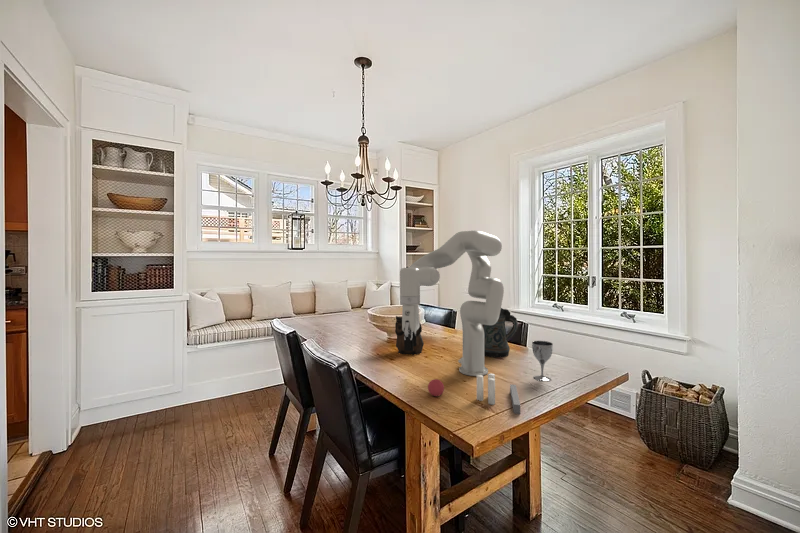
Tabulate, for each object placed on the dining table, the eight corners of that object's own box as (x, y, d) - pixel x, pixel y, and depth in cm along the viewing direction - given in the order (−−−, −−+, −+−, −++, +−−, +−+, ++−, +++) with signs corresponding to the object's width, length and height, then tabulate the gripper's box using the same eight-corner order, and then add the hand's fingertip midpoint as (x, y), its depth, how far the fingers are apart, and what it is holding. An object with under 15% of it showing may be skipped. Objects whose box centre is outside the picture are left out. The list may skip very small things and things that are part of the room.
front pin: (475, 399, 128) (475, 375, 127) (480, 397, 129) (480, 374, 128) (479, 401, 126) (479, 377, 125) (484, 399, 127) (484, 376, 126)
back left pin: (486, 397, 129) (486, 374, 129) (491, 395, 130) (491, 373, 130) (491, 399, 127) (491, 376, 127) (496, 397, 128) (496, 374, 128)
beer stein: (473, 349, 193) (473, 303, 192) (508, 348, 194) (508, 303, 193) (482, 358, 176) (482, 308, 175) (520, 357, 178) (520, 307, 177)
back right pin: (486, 402, 124) (486, 379, 124) (491, 401, 125) (491, 377, 125) (491, 405, 122) (491, 381, 122) (496, 403, 123) (496, 379, 123)
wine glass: (540, 382, 142) (540, 346, 142) (528, 376, 150) (528, 341, 150) (556, 380, 145) (557, 344, 144) (544, 374, 152) (544, 340, 152)
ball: (424, 394, 132) (424, 378, 132) (437, 391, 135) (437, 375, 135) (434, 400, 127) (434, 383, 127) (447, 396, 130) (447, 380, 130)
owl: (424, 353, 185) (424, 316, 185) (403, 357, 179) (403, 318, 179) (412, 348, 196) (412, 312, 196) (392, 351, 191) (392, 314, 190)
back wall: (520, 414, 115) (520, 405, 115) (513, 413, 116) (513, 404, 116) (515, 392, 133) (515, 384, 133) (510, 392, 133) (510, 384, 133)
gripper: (415, 304, 123) (415, 355, 123) (423, 297, 139) (424, 343, 140) (394, 303, 124) (395, 354, 125) (405, 297, 141) (405, 342, 142)
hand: (410, 347), depth 133 cm, fingers open, 5 cm apart
